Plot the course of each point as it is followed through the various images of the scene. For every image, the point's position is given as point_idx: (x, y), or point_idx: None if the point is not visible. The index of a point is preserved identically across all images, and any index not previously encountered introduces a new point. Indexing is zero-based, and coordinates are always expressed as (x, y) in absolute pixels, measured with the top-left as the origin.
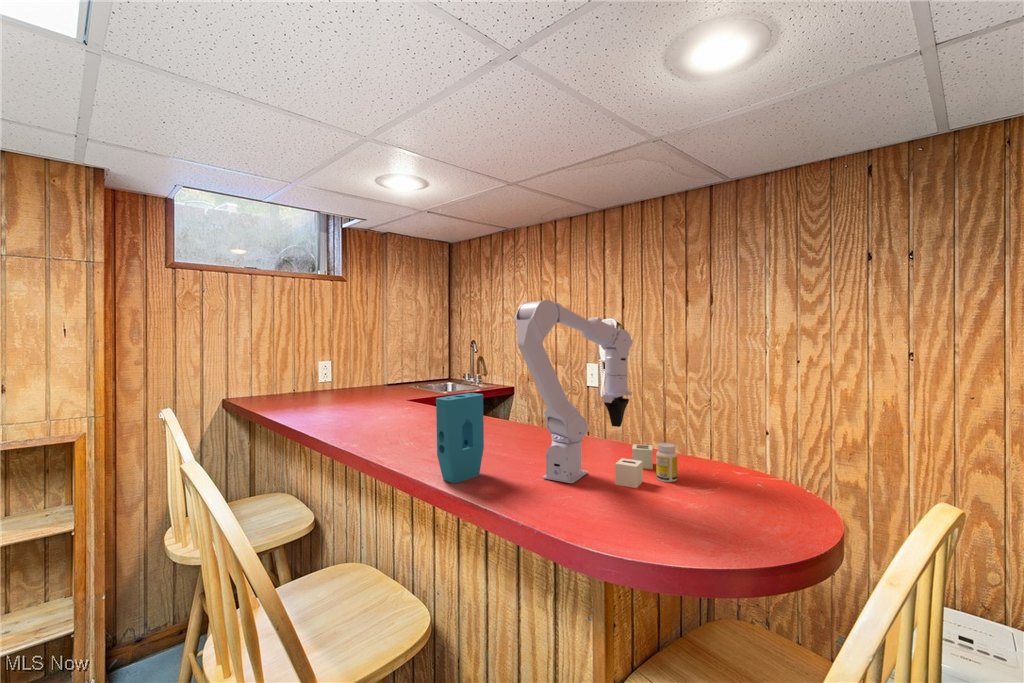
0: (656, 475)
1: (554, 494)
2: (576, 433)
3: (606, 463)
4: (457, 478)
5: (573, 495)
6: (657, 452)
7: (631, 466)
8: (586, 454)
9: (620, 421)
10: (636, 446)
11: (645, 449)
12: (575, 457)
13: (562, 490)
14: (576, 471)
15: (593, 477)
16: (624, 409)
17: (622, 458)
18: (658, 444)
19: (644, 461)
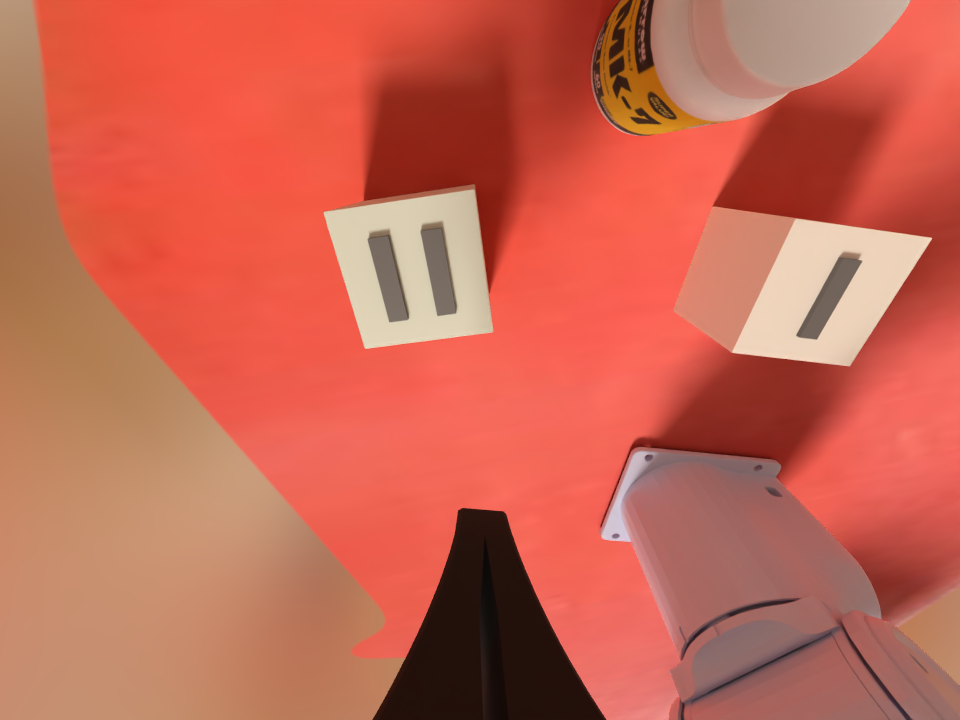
0: (654, 134)
1: (881, 478)
2: (935, 674)
3: (465, 411)
4: None
5: (897, 428)
6: (758, 103)
7: (908, 270)
8: (369, 502)
9: (515, 551)
10: (412, 318)
11: (471, 246)
12: (778, 536)
13: (841, 468)
14: (732, 482)
15: (679, 415)
16: (442, 680)
17: (739, 348)
18: (827, 74)
19: (481, 237)
